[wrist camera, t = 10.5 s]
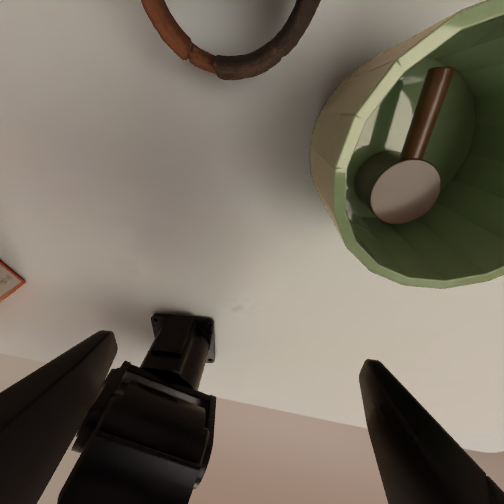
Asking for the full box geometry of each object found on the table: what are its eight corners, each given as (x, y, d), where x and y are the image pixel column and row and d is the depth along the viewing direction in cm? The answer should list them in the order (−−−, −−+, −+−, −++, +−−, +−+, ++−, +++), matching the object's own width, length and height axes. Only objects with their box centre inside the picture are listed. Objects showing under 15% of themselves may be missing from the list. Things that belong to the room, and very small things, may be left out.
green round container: (437, 225, 19) (539, 297, 12) (298, 215, 20) (312, 278, 12) (514, 53, 14) (785, -12, 6) (323, 46, 14) (373, -23, 7)
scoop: (401, 208, 18) (426, 227, 15) (347, 204, 18) (362, 222, 15) (448, 77, 14) (494, 68, 11) (380, 73, 14) (407, 64, 11)
